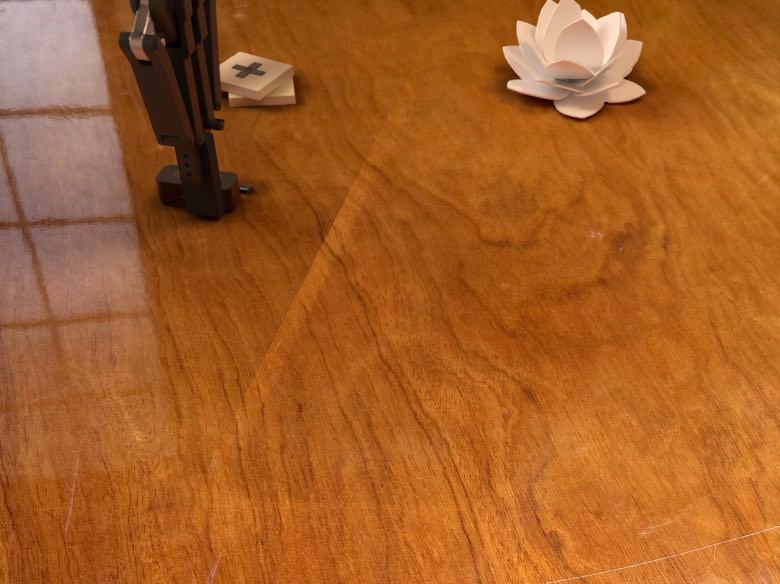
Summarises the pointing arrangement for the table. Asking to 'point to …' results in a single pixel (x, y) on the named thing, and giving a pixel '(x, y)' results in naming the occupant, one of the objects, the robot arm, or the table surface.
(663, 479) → the table surface
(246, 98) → the tile pile
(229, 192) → the brown electronic gadget
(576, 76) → the lotus flower
